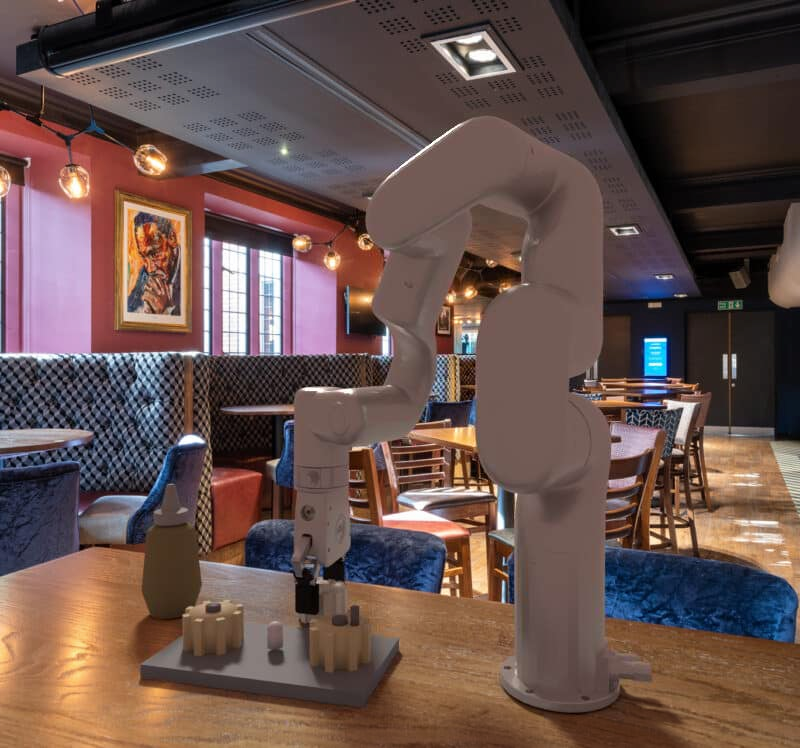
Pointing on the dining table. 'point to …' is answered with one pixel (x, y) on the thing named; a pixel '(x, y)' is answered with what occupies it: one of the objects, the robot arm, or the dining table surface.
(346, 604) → the cream idler gear
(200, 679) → the gear board
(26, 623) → the dining table surface
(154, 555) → the squeeze bottle
